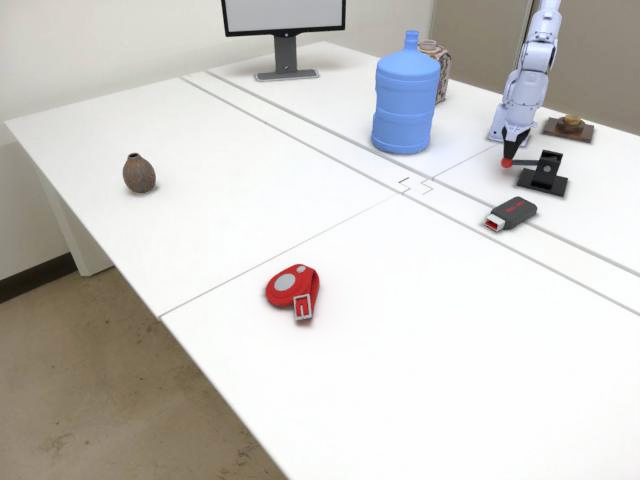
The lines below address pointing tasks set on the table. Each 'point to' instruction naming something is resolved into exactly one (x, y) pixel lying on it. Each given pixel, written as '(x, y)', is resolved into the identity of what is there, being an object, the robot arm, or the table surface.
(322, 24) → the computer monitor
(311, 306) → the tracker holder
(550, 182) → the bracket
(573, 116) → the button
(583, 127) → the button block
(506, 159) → the lever
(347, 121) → the table surface
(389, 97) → the water jug
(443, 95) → the decorative jar
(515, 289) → the table surface
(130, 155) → the vase
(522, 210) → the usb drive
